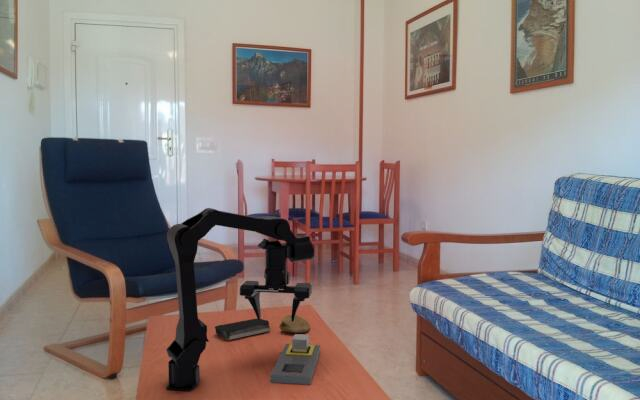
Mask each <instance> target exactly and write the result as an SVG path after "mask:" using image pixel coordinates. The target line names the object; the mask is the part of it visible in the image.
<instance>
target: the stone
mask: <svg viewBox="0 0 640 400" xmlns="http://www.w3.org/2000/svg"><path fill="white" fill-rule="evenodd" d="M291 317H292V314H290V315H286V316H284V317H282V319H281V323H280V324H279V328H280V330H281V331H283V332H284V333H291V334H292V333H294V334H300V333H301V334H302V333H307V332H308V331H309V330H310V329H311V327H310V324H309V322H308V321H307V319H305V318H303V317H302V316H300V315H297V314H296V315H295V318H294V321H293V322H292V318H291Z"/></svg>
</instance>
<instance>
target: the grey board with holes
mask: <svg viewBox="0 0 640 400" xmlns="http://www.w3.org/2000/svg"><path fill="white" fill-rule="evenodd" d="M320 354H321V345H320V344H319V345H318V344H317V345H316V344H309V353H292V343H285V345H284V347H283V349H282V351H281V353H280V354H279V357H278V359H277V361H276V362H275V365H274V366H273V368H272V371H271V373H270V375H269V376H270V377H269V378H270V381H269V382H270V383H271V384H273V383H274V384H288V385H289V384H293V385H306V386H307V385H311V382H312V380H313V378H314V377H313V376H314V373H315V370H316V367H317V363H318V360H319V357H320Z"/></svg>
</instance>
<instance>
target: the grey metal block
mask: <svg viewBox="0 0 640 400" xmlns="http://www.w3.org/2000/svg"><path fill="white" fill-rule="evenodd" d="M309 339H310V336H309V334H302V333H301V334H300V333H294V335H293V337H292V339H291V340H292V341H291V342H292V343H291V344H292V353H309V345H310V344H309V341H310V340H309Z"/></svg>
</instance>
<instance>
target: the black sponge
mask: <svg viewBox="0 0 640 400" xmlns="http://www.w3.org/2000/svg"><path fill="white" fill-rule="evenodd" d="M214 329H215V334H216V335H217V336H219V337H222V338H223V339H225V340H228V341H230V340H235V339H236V340H237V339H239V338H244V337H248V336H249V337H250V336H254V335H258V334H262V333H263V334H264V333H268V332H269V331H270V330H271V327H270V322H269V320H267V319H264V318H263V319H262V318H261V319H260V320H258V318H251V319H247V320H241V321H236V322H231V323H226V324H218V325H215V326H214Z"/></svg>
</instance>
